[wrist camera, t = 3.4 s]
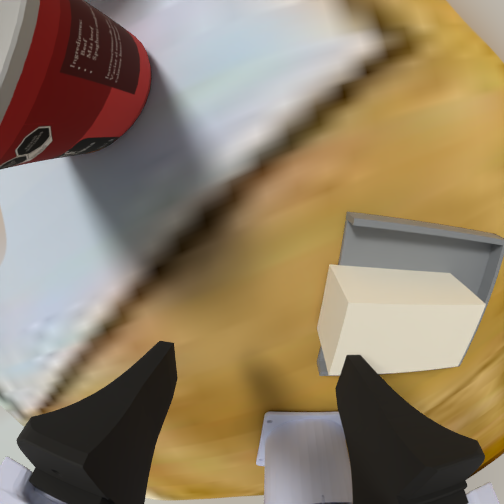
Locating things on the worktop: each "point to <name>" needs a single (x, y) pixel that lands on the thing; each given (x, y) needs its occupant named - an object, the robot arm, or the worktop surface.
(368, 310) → the cream block
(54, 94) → the canned food
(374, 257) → the tray
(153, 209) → the worktop surface
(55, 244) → the worktop surface
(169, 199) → the worktop surface
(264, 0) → the worktop surface
